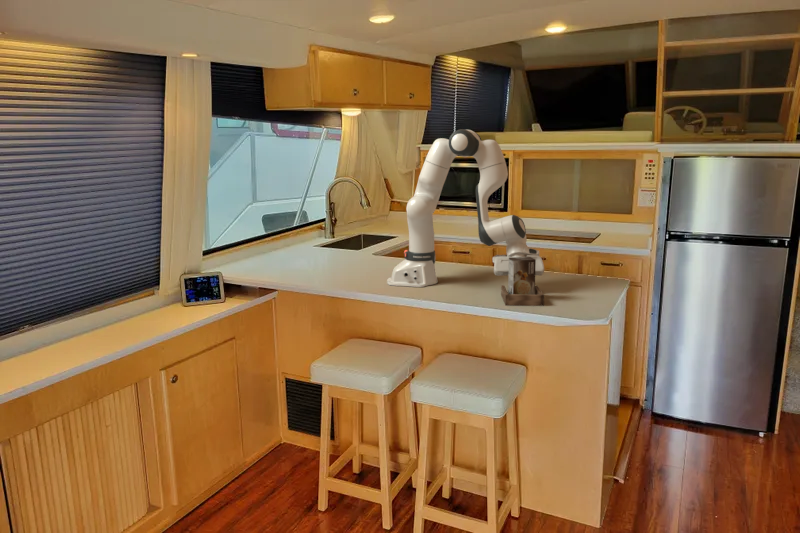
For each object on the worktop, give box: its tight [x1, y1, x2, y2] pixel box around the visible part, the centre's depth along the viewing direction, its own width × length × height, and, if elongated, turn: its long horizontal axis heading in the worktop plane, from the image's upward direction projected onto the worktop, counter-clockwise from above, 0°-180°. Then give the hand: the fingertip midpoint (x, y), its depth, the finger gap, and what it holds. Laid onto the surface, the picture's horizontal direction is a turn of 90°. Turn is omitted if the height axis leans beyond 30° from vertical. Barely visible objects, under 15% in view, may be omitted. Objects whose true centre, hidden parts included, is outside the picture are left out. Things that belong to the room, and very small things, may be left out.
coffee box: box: [507, 257, 536, 295], centre depth 231 cm, size 9×6×16 cm
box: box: [500, 284, 545, 307], centre depth 230 cm, size 14×15×4 cm
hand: (519, 283), depth 236 cm, fingers closed
